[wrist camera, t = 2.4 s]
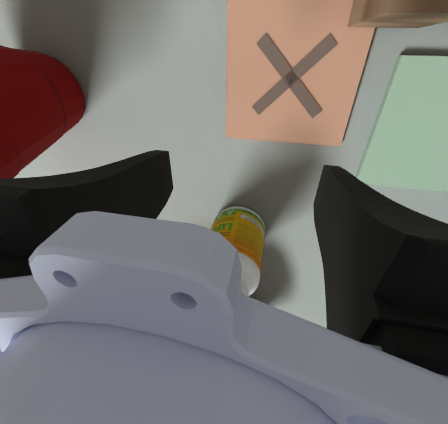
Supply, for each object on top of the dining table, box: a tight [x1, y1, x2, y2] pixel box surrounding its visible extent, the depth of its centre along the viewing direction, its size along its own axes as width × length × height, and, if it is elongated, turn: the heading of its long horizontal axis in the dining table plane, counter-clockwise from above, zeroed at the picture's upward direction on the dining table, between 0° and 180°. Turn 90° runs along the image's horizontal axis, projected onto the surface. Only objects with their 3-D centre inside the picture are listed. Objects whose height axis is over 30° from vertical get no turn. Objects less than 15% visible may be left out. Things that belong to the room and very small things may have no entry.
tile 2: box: [356, 55, 448, 192], centre depth 17 cm, size 9×9×1 cm
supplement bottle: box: [211, 206, 265, 297], centre depth 22 cm, size 5×5×10 cm
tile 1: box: [226, 0, 375, 146], centre depth 17 cm, size 9×9×1 cm
